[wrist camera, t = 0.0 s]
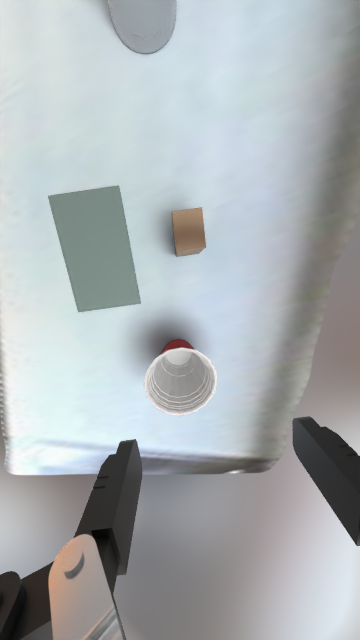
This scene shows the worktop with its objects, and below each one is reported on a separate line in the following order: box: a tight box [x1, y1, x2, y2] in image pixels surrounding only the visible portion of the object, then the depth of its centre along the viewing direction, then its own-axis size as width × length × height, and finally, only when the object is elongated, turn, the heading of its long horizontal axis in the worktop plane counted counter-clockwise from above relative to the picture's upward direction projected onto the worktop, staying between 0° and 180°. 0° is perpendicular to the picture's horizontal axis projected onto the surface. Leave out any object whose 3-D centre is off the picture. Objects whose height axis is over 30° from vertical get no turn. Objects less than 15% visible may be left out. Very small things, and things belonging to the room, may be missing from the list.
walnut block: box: [172, 207, 206, 257], centre depth 31 cm, size 5×4×9 cm
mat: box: [48, 186, 141, 312], centre depth 35 cm, size 20×12×1 cm, turn 8°
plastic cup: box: [144, 340, 217, 416], centre depth 34 cm, size 11×11×12 cm
